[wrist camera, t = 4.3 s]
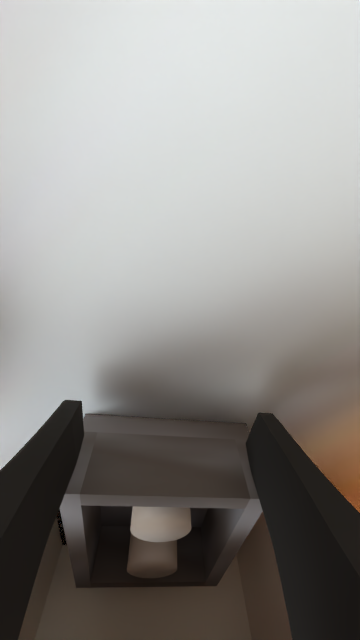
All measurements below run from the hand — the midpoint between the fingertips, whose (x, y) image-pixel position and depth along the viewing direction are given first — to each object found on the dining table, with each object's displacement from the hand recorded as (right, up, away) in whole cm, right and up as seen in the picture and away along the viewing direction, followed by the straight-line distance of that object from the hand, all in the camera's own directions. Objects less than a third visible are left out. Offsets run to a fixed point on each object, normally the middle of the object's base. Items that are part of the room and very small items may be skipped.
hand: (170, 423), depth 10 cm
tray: (-1, -5, +5) cm, 7 cm away
